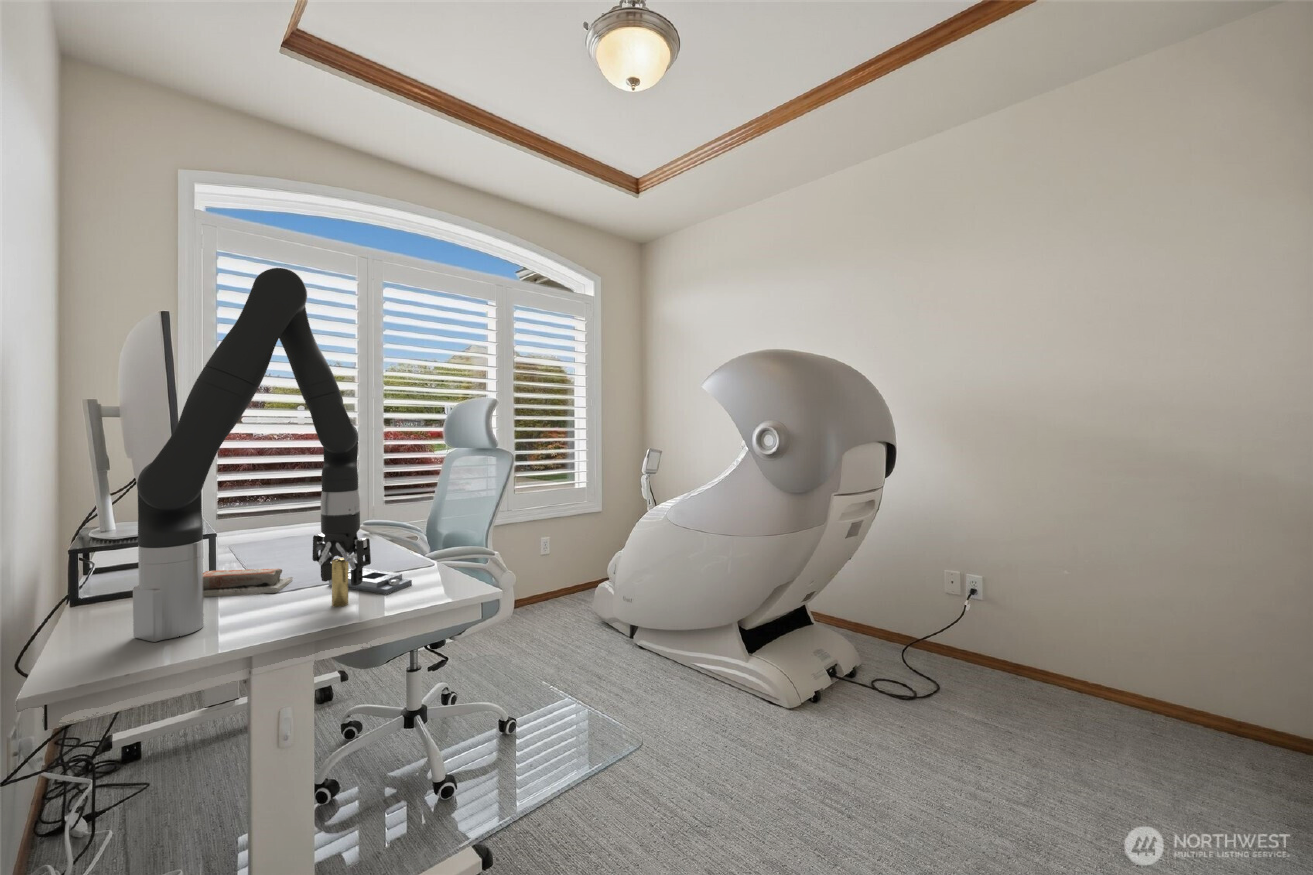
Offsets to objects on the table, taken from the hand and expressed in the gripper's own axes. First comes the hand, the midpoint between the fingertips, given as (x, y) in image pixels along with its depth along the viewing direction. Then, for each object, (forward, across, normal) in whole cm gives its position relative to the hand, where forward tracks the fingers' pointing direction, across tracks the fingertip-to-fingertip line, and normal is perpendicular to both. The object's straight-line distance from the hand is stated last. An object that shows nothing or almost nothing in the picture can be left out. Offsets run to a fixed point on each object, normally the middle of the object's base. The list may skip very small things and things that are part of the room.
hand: (341, 582), depth 121 cm
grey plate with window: (+5, -4, +13) cm, 14 cm away
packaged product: (+5, -30, -1) cm, 31 cm away
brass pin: (+5, 0, 0) cm, 5 cm away
